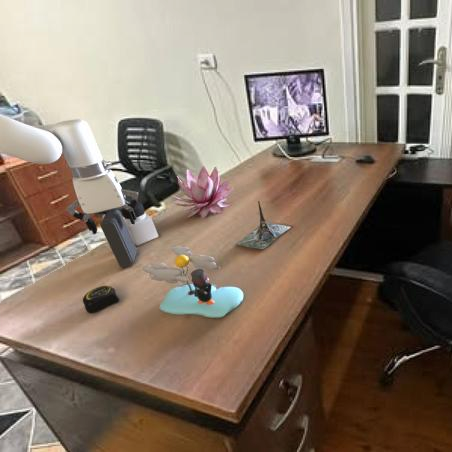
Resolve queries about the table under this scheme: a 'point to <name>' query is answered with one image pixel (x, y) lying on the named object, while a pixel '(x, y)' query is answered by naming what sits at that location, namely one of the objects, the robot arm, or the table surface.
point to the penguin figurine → (194, 287)
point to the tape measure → (100, 299)
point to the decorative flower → (204, 192)
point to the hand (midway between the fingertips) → (114, 227)
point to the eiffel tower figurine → (263, 233)
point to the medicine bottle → (140, 225)
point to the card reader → (119, 238)
